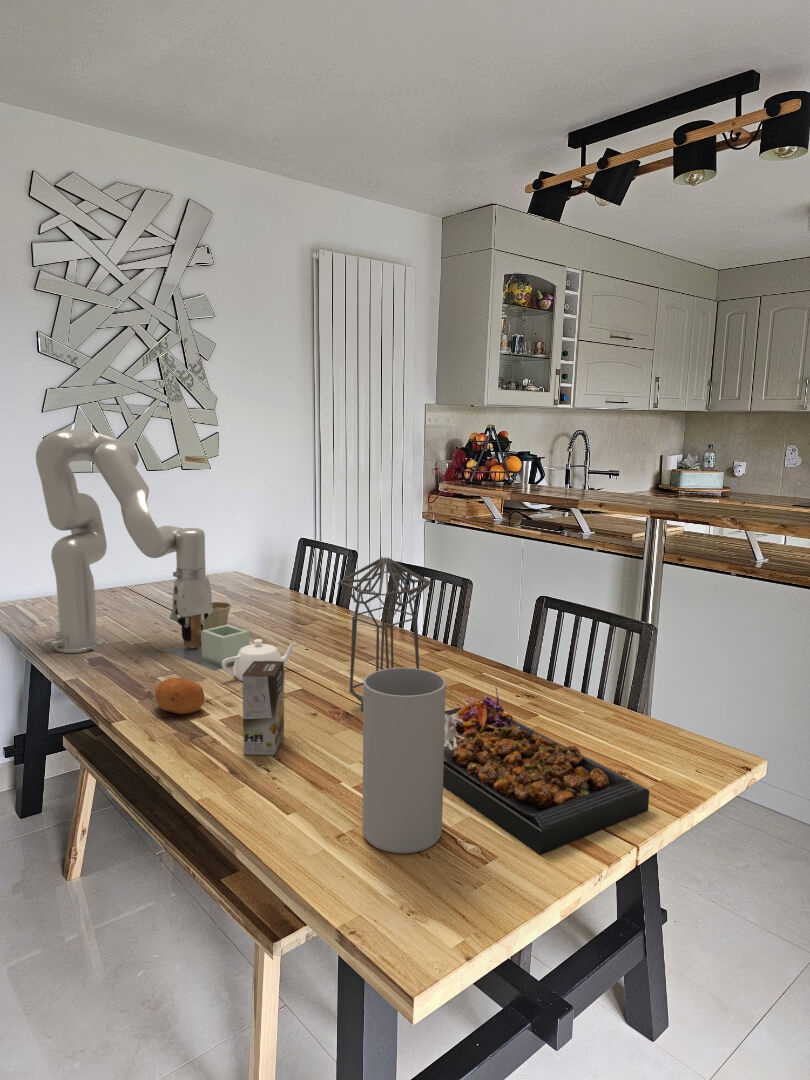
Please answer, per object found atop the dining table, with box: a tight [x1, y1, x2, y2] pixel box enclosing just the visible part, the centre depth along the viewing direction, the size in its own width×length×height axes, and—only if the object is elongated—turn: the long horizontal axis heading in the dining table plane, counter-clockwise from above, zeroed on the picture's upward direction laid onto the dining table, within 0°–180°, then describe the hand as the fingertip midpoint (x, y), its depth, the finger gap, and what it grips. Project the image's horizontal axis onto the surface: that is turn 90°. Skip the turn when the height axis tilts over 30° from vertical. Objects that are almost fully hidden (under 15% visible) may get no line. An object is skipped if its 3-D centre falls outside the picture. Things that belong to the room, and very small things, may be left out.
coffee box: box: [242, 661, 285, 756], centre depth 146 cm, size 9×6×16 cm
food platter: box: [443, 687, 650, 857], centre depth 136 cm, size 45×25×10 cm, turn 33°
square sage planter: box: [201, 624, 251, 668], centre depth 194 cm, size 8×9×8 cm
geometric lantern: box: [337, 556, 431, 711], centre depth 163 cm, size 16×16×35 cm
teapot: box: [222, 638, 297, 682], centre depth 183 cm, size 20×12×10 cm, turn 125°
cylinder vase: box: [361, 667, 447, 855], centre depth 114 cm, size 12×12×25 cm
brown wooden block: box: [183, 615, 201, 649], centre depth 204 cm, size 3×4×10 cm
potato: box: [154, 677, 205, 715], centre depth 163 cm, size 9×11×8 cm
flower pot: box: [203, 601, 232, 630], centre depth 221 cm, size 9×9×9 cm
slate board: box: [163, 642, 233, 672], centre depth 200 cm, size 14×24×1 cm, turn 49°
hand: (192, 638), depth 204 cm, fingers closed on brown wooden block, 3 cm apart
